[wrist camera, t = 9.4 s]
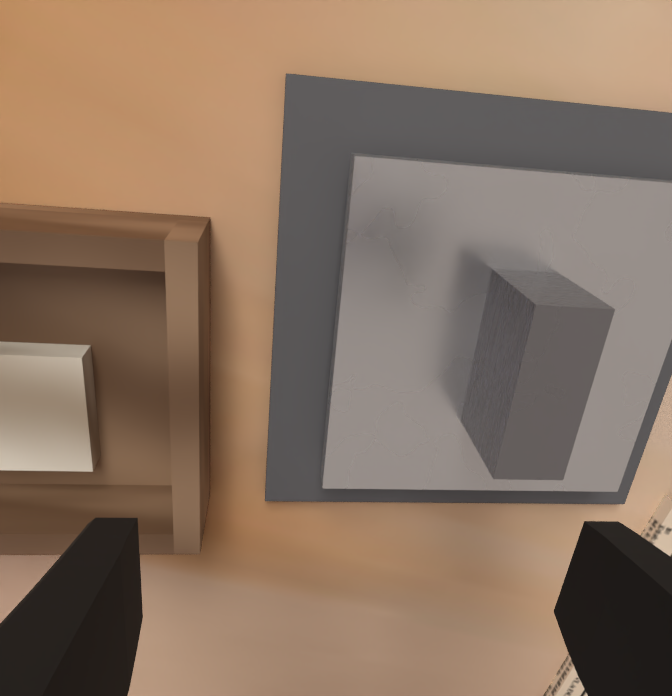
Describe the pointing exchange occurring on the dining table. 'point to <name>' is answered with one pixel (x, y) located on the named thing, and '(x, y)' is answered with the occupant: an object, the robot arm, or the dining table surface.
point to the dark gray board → (328, 227)
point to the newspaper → (666, 534)
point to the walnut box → (103, 376)
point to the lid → (495, 326)
